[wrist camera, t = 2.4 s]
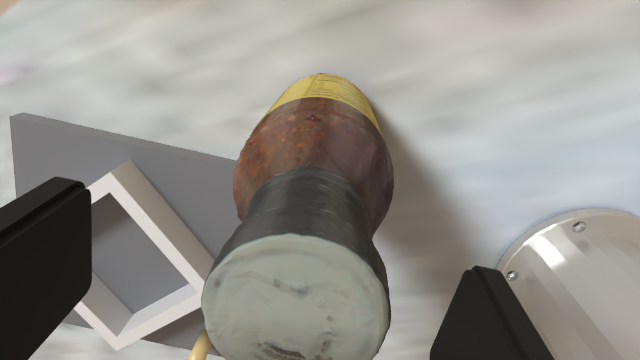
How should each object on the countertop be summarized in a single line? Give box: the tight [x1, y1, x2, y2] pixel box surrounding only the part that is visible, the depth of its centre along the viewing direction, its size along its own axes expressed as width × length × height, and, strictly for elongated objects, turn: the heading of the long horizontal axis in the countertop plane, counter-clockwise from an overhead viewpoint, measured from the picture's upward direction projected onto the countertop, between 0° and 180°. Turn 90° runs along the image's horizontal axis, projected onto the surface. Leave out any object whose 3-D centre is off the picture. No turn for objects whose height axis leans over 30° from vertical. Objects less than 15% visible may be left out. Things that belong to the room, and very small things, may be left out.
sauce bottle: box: [201, 73, 394, 360], centre depth 18 cm, size 7×6×20 cm
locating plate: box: [10, 113, 242, 360], centre depth 30 cm, size 17×17×4 cm
